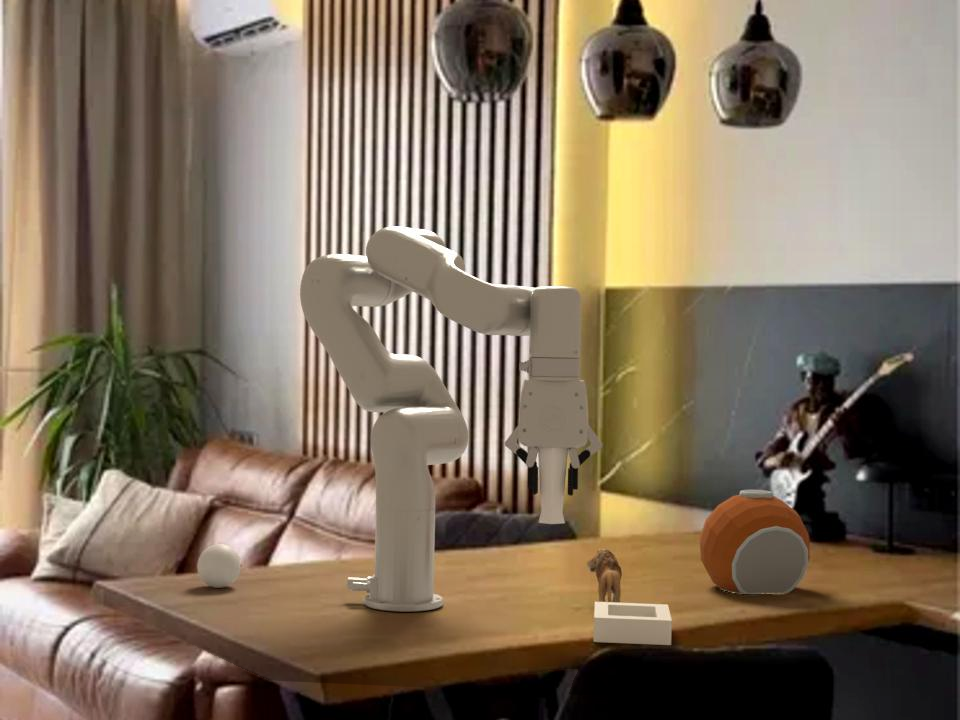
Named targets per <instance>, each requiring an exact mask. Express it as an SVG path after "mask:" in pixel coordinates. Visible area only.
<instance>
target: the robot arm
mask: <svg viewBox="0 0 960 720" xmlns="http://www.w3.org/2000/svg"><path fill="white" fill-rule="evenodd" d="M365 255H366V256H365ZM365 255H358V254H356V255H354V254H345V253H342V254H341V253H333V254H325V255H321V256H318V257H317V258H315V259H313V260H312V261H311V262H310V263H309V264H307V266H306V268H305V269H304V271H303V274H302V276H301V277H302V278H301V281H300V287H299V288H300V289H299V297H300V298H299V299H300V304H301V309H302V313H303V315H304V317H305V319H306V322H307V324H308V326H309V327H310V329H311V331H312V332H313V334H314V335H315V336H316V337H317V340H318V341H319V342H320V343H321V345H322V346H323V348H324V349H325V351H326V352H327V355H329V357H330V359H331V361H332V363H333V365H334V368H336V370H337V373H338V374H339V376H340V377H341V379H342V381H343V382H344V384H345V386H346V388H347V389H348V391H349V393H350V394H351V396H352V398H353V400H354V401H355V402H356V404H357V405H358V407H360V408H361V409H362V410H364V411H367V412H371V413H382V414H381V415H380V416H379V417H378V418H377V420H376V421H375V422H374V424H373V426H372V429H371V433H370V434H371V435H370V447H371V453H372V458H373V459H372V460H373V463H374V464H373V465H374V473H375V475H374V476H375V528H374V529H375V530H374V531H375V533H374V535H375V537H374V539H375V541H374V542H375V543H374V573H373V575H372V576H367V578H360V577H348V578H347V583H346V584H347V585H346V586H347V590H352V591H353V592H361V591H363V592H364V591H365V592H366V593H369V594H366V595H365V596H364V597H363V598H364V599H363V600H364V601H363V604H364V605H365V606H366V607H368V608H370V609H373V610H374V609H375V610H379V611H387V612H400V613H401V612H409V613H410V612H424V611H431V610H435V609H439V608H441V607H442V606H443V604H444V597H442V596H441V595H439V594H437V593H434V583H435V582H434V580H435V578H434V577H435V575H434V573H435V543H436V542H435V537H436V535H435V534H436V533H435V532H436V531H435V530H436V490H435V485H434V481H433V479H432V476H431V473H430V469H429V467H428V466H431V465H432V466H434V465H435V466H436V465H441V464H442V465H443V464H448V463H451V462H454V461H457V460H458V459H460V457H461V456H463V455H464V453H465V451H466V450H467V447H468V444H469V430H468V426H467V423H466V420H465V417H464V415H463V413H462V411H461V410H460V409H459V407H458V405H457V403H456V402H455V400H454V399H453V396H451V394H450V392H449V391H448V389H447V387H446V385H445V384H444V382H443V381H442V379H441V377H440V375H439V374H438V373H437V371H436V370H435V369H434V367H433V366H432V365H431V364H430V363H429V362H427V361H426V360H425V359H423V358H421V357H420V356H417V355H414V354H403V353H402V354H397V353H396V354H395V353H392V352H391V351H389V350H388V349H387V348H386V347H385V346H384V344H383V343H382V341H381V340H380V338H379V336H378V334H377V332H376V331H375V330H374V328H373V327H372V325H371V324H370V323H369V322H368V321H367V320H366V319H365V318H364V317H362V316H361V315H360V314H359V313H358V312H357V311H356V310H355V309H354V308H353V307H365V308H366V307H369V308H373V307H375V308H378V307H384V306H387V305H390V304H391V303H394V302H396V301H397V300H400V299H402V298H404V297H405V296H407V295H410V294H412V293H414V294H417V295H418V296H421V297H423V298H424V299H427V300H428V301H430V302H431V304H432V305H433V306H434V308H435V309H436V310H437V312H439V313H440V314H441V315H442V316H443V317H445V318H447V319H449V320H450V321H453V322H455V323H457V324H459V325H460V326H463V327H464V328H467V329H469V330H471V331H474V332H476V333H479V334H483V335H488V336H511V337H514V336H515V337H516V336H517V337H526V336H529V358H528V359H527V360H525V361H519V367H518V368H519V372H525V373H527V374H528V378H527V379H523V382H522V387H521V392H520V393H521V394H520V401H519V414H518V416H519V417H518V425H516V427H515V429H513V431H512V432H511V434H510V435H509V436H508V437H507V439H506V440H505V441H504V446H505V448H507V449H509V450H510V451H511V452H512V453H514V454H515V455H516V456H517V457H518V458H519V459H520V461H522V462H523V463H524V464H525V465H526V467H527V489H531V495H532V496H535V495H537V494H539V466H538V463H537V457H538V448H539V447H540V448H568V455H569V461H570V462H569V467H568V469H567V495H568V496H570V497H571V496H573V495H574V490H578V489H579V468H580V467H581V465H582V464H584V463H585V462H586V460H588V459H589V458H590V457H591V456H592V455H594V454H596V453H597V452H599V451H600V450H601V449H603V443H602V442H601V440H600V438H599V437H598V436H597V434H596V433H595V431H594V430H593V429H592V428H591V426H590V424H589V405H588V404H589V402H588V393H587V385H586V381H585V380H584V379H583V380H582V379H581V351H582V350H581V348H582V346H581V345H582V344H581V342H582V341H581V339H582V337H581V334H582V295H581V292H580V291H579V289H577V288H575V287H572V286H563V285H562V286H560V285H558V286H557V285H555V286H554V285H553V286H552V285H551V286H546V285H545V286H537V287H531V286H530V287H529V286H523V285H521V286H520V285H511V284H499V283H497V284H496V283H495V284H494V283H489V282H488V281H487V282H486V281H484V280H481V279H480V278H477V277H475V276H473V275H471V274H468V273H467V272H466V265H465V261H464V259H463V257H462V256H461V255H460V254H459V253H458V252H456V251H454V250H451V249H449V248H447V245H446V244H445V241H443V239H442V238H441V237H440V236H439V235H438V234H436V233H435V232H433V231H430V230H427V229H423V228H421V229H420V228H413V227H404V226H386V227H383V228H380V229H378V230H377V231H376V232H374V233H373V234H372V235H371V237H370V238H369V239H368V241H367V243H366V247H365ZM518 441H519V444H520V445H522V446H525V447H526V448H529V449H528V452H527V450H525V448H523V447H521V446H520V445H519V444H518ZM588 441H589V442H590V445H589V446H588V447H586V448H585V449H584V450H582V451H581V452H580V453H579V451H578V448H582V447H584V446H586V444H587V443H588Z"/></svg>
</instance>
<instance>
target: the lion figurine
mask: <svg viewBox="0 0 960 720" xmlns="http://www.w3.org/2000/svg"><path fill="white" fill-rule="evenodd" d="M586 565H587V567H588V569H589V571H590V573H595V576H596V579H597V582H598V583H597V584H598V586H597V587H598V589H597V590H598V591H597V592H598V597H599V598H598V600H599V601H598V602H606V596H607V602H617V603H621V595H622V591H621V589H622V588H621V580H622V579H621V578H622V576H623V573H622V568H621V566H620V565H619V561H618V559H617V558H616V556H615V554H613V553H612V552H611V551H610V550H609V549H606V548H602V549H601V548H599V549H597V551H596V555H595V556H593V557H592V559H589V560H588V561H587V562H586ZM612 594H613V598H612Z"/></svg>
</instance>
